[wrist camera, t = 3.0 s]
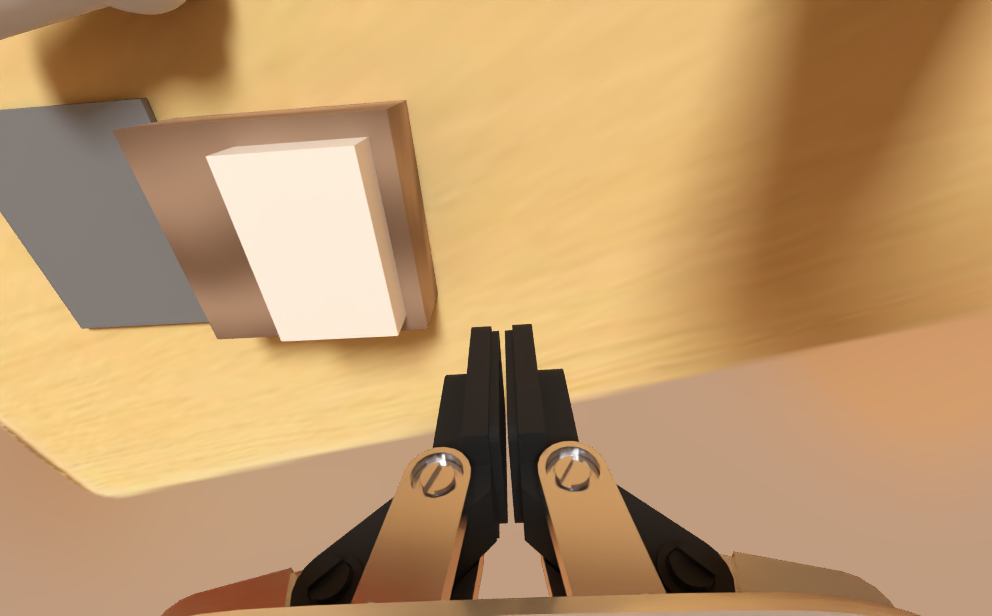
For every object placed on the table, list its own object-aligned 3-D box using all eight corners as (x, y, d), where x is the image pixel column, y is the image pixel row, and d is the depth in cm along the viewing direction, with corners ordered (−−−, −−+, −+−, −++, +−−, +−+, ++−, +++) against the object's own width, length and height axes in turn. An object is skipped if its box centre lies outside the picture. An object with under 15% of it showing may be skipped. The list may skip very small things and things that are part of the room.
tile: (233, 146, 18) (205, 156, 17) (368, 136, 18) (354, 145, 16) (298, 320, 23) (281, 341, 21) (406, 314, 23) (398, 335, 21)
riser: (174, 118, 22) (112, 130, 18) (405, 100, 21) (386, 109, 18) (253, 303, 27) (217, 339, 24) (437, 293, 27) (427, 329, 23)
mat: (-58, 114, 22) (-67, 115, 21) (146, 98, 21) (140, 98, 21) (86, 325, 28) (81, 328, 28) (244, 317, 28) (241, 320, 27)
